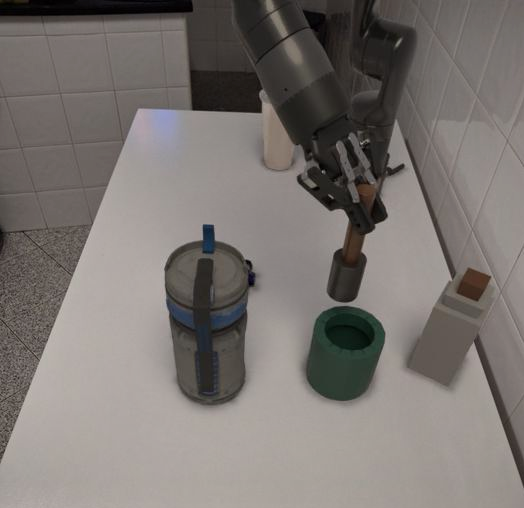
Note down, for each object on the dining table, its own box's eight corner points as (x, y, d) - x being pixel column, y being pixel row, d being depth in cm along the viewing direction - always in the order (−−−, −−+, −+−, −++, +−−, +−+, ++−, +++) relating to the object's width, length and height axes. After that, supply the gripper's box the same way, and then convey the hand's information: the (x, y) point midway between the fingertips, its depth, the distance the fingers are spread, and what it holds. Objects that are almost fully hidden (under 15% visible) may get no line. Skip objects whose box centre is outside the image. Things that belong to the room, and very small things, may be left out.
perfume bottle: (448, 386, 79) (494, 303, 65) (407, 367, 81) (443, 282, 67) (461, 358, 82) (508, 274, 69) (422, 340, 84) (459, 255, 71)
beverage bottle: (172, 421, 72) (151, 293, 53) (181, 350, 81) (166, 217, 62) (243, 423, 72) (248, 296, 53) (246, 352, 81) (250, 221, 62)
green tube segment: (343, 341, 84) (355, 297, 76) (383, 383, 78) (400, 341, 71) (293, 365, 80) (300, 321, 72) (331, 411, 75) (343, 369, 67)
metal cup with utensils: (300, 180, 114) (318, 30, 91) (251, 172, 115) (256, 22, 92) (307, 156, 121) (325, 11, 98) (261, 149, 122) (268, 4, 99)
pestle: (345, 277, 72) (368, 175, 60) (364, 296, 70) (393, 194, 58) (320, 287, 71) (339, 184, 59) (339, 307, 69) (363, 204, 56)
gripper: (286, 90, 49) (368, 245, 54) (360, 52, 57) (427, 191, 61) (243, 126, 55) (320, 262, 60) (315, 87, 63) (379, 211, 67)
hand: (374, 226), depth 61 cm, fingers closed on pestle, 2 cm apart
